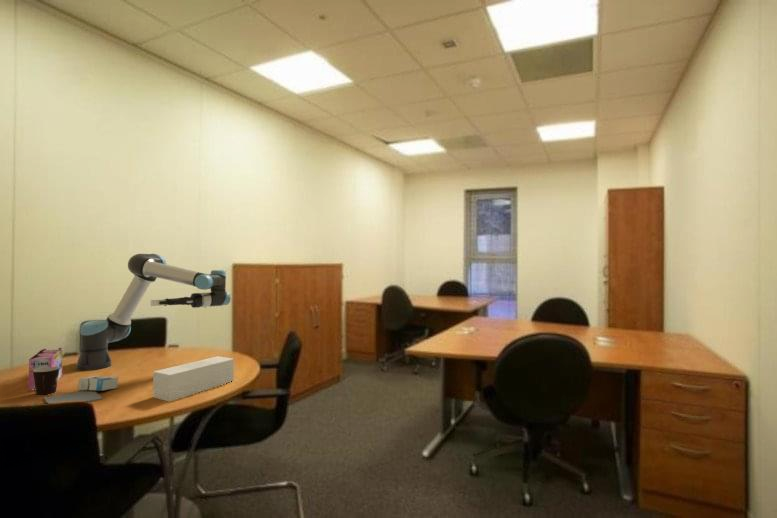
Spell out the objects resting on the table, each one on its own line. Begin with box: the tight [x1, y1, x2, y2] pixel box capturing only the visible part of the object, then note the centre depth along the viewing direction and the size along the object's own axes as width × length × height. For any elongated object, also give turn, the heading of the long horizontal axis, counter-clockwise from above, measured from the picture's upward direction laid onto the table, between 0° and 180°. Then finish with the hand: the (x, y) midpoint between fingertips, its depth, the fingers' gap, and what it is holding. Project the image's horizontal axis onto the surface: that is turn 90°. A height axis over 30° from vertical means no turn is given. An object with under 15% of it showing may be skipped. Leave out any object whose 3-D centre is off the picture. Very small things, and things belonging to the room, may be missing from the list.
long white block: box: [152, 355, 235, 402], centre depth 183 cm, size 32×11×11 cm, turn 152°
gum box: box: [27, 347, 63, 391], centre depth 191 cm, size 24×8×14 cm, turn 28°
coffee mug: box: [33, 367, 60, 396], centre depth 174 cm, size 12×9×10 cm
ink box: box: [77, 375, 119, 392], centre depth 181 cm, size 8×5×12 cm
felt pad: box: [43, 390, 103, 403], centre depth 168 cm, size 16×16×1 cm
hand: (151, 303), depth 204 cm, fingers closed
